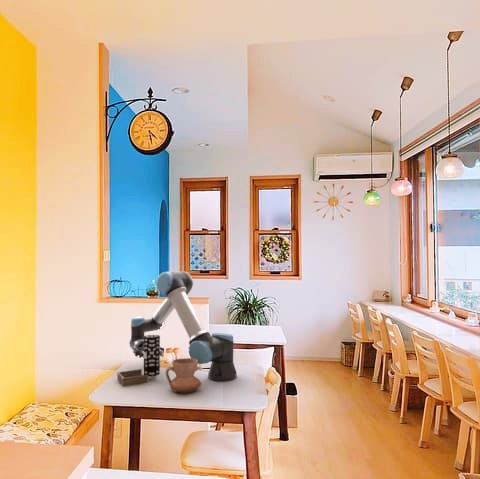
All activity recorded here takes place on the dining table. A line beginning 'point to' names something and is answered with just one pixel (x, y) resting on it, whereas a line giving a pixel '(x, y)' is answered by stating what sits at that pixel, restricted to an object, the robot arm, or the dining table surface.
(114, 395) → the dining table surface
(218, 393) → the dining table surface
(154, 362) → the white-spotted black cylinder
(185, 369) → the ceramic jug
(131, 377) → the tray
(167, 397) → the dining table surface
